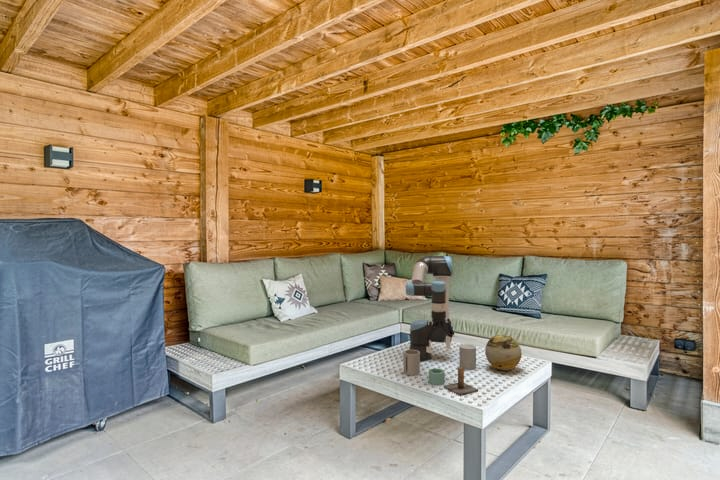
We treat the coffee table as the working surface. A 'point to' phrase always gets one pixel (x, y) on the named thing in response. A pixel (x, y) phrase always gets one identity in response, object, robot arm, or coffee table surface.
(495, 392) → the coffee table surface
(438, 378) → the collar
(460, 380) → the post stand
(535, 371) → the coffee table surface
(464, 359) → the beige speckled cylinder
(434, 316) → the robot arm
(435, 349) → the coffee table surface
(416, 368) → the cup
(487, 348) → the decorative sphere
